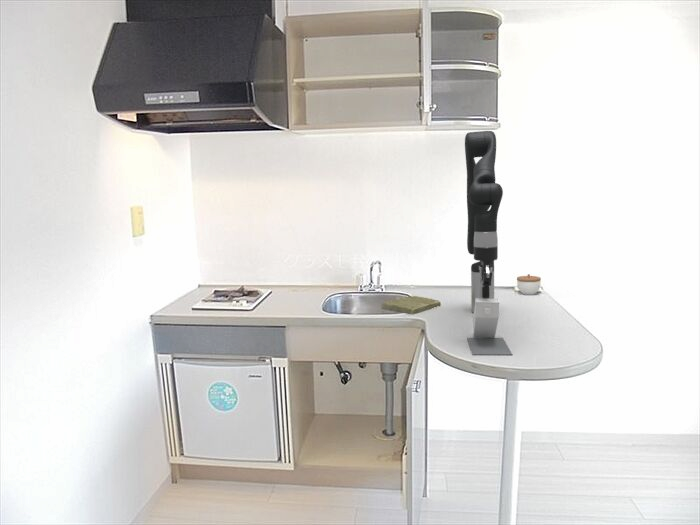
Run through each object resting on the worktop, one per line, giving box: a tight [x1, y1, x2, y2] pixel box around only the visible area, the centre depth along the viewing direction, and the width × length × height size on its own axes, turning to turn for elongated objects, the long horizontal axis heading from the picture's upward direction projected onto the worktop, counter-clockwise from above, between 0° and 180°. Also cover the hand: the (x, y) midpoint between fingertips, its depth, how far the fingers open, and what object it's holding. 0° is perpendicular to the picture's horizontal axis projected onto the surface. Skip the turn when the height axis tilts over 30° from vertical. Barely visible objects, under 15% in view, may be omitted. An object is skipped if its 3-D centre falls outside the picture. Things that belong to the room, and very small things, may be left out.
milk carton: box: [472, 298, 500, 338], centre depth 171 cm, size 7×7×19 cm
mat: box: [466, 337, 513, 356], centre depth 167 cm, size 18×12×1 cm, turn 173°
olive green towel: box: [381, 295, 442, 315], centre depth 227 cm, size 19×20×4 cm
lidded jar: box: [516, 273, 541, 296], centre depth 245 cm, size 11×11×9 cm
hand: (485, 297), depth 169 cm, fingers closed
